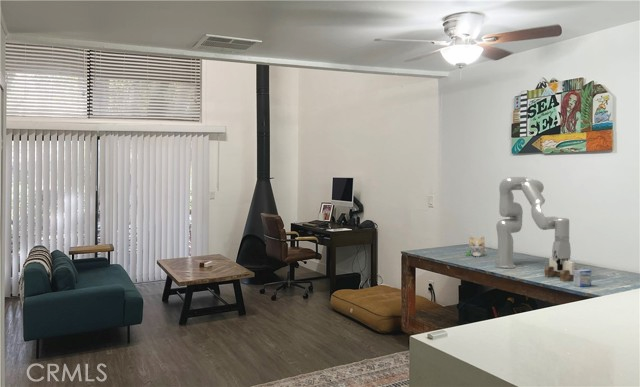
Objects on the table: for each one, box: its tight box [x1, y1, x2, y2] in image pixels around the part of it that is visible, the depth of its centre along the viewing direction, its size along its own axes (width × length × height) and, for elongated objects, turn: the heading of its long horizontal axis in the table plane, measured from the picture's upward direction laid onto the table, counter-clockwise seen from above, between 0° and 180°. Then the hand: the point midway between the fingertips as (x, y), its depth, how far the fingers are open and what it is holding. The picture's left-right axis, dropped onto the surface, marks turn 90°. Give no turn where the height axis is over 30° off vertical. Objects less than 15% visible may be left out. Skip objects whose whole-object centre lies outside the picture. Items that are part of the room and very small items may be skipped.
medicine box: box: [573, 268, 592, 288], centre depth 257 cm, size 8×4×9 cm, turn 105°
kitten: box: [465, 235, 487, 258], centre depth 351 cm, size 15×10×15 cm
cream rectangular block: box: [548, 257, 576, 275], centre depth 275 cm, size 16×2×7 cm, turn 21°
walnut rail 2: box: [559, 268, 580, 282], centre depth 270 cm, size 12×2×6 cm, turn 111°
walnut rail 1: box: [544, 265, 560, 278], centre depth 281 cm, size 12×2×6 cm, turn 111°
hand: (561, 270), depth 275 cm, fingers closed on cream rectangular block, 2 cm apart
